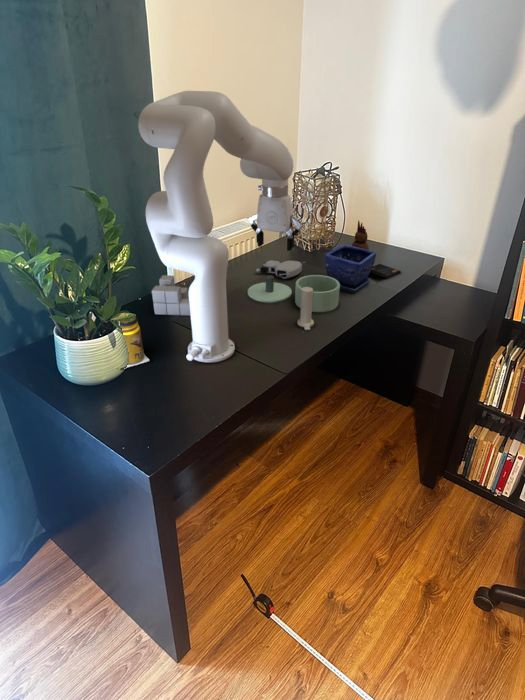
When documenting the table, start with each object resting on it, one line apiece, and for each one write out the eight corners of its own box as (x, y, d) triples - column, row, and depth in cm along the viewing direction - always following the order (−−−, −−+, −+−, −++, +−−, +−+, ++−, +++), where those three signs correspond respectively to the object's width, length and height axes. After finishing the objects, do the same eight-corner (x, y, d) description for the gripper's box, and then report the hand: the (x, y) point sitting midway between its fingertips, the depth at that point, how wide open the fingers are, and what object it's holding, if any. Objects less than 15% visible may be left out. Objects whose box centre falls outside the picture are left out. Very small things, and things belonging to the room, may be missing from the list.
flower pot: (374, 284, 170) (378, 251, 164) (356, 297, 161) (359, 263, 155) (340, 275, 177) (343, 243, 171) (321, 287, 168) (323, 254, 162)
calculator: (400, 273, 179) (401, 265, 177) (380, 281, 172) (381, 273, 170) (379, 265, 185) (380, 258, 183) (359, 274, 178) (360, 266, 177)
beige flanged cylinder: (315, 332, 142) (318, 295, 136) (299, 332, 142) (300, 296, 136) (311, 317, 150) (313, 282, 144) (295, 317, 149) (296, 282, 143)
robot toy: (254, 278, 177) (291, 284, 170) (253, 266, 175) (290, 271, 168) (271, 267, 186) (307, 272, 179) (270, 255, 184) (307, 260, 177)
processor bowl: (331, 316, 150) (333, 295, 146) (289, 309, 155) (289, 288, 151) (343, 298, 161) (344, 278, 157) (302, 292, 165) (303, 272, 162)
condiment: (149, 360, 129) (144, 320, 123) (118, 371, 125) (110, 329, 119) (139, 348, 135) (133, 309, 128) (109, 358, 131) (101, 317, 124)
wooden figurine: (347, 258, 191) (351, 219, 184) (361, 256, 193) (365, 218, 185) (355, 264, 186) (359, 225, 178) (369, 262, 187) (374, 223, 180)
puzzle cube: (193, 315, 151) (190, 292, 147) (154, 314, 152) (151, 290, 148) (200, 298, 161) (199, 276, 157) (164, 297, 162) (162, 275, 158)
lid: (282, 307, 156) (283, 289, 152) (240, 299, 160) (239, 282, 157) (297, 289, 167) (298, 272, 164) (257, 282, 172) (257, 266, 169)
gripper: (242, 191, 143) (244, 247, 152) (299, 197, 138) (297, 255, 147) (253, 185, 149) (254, 240, 158) (307, 190, 143) (305, 247, 153)
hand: (275, 247), depth 152 cm, fingers open, 9 cm apart
